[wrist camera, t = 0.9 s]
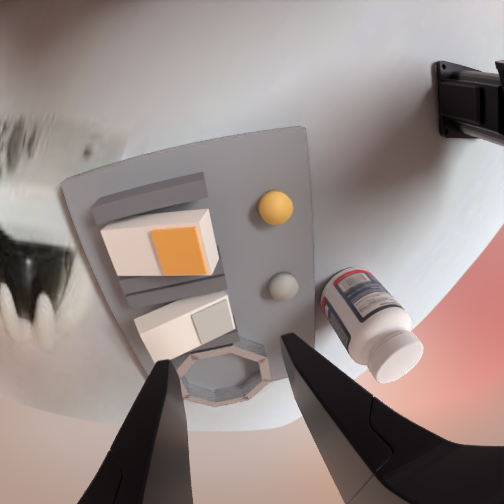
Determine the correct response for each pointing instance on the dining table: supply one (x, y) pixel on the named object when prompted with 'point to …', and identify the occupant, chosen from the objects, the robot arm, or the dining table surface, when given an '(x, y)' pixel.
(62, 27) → the dining table surface
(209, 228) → the block
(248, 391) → the socket
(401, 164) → the dining table surface
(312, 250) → the panel
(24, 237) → the dining table surface
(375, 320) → the pill bottle
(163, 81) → the dining table surface
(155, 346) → the breaker
